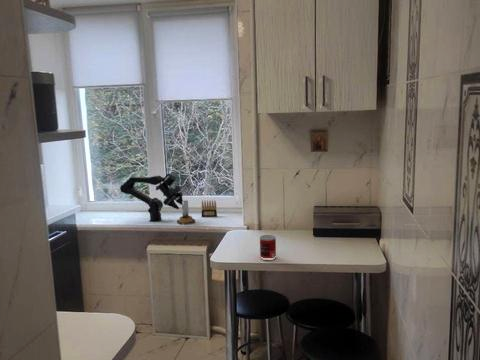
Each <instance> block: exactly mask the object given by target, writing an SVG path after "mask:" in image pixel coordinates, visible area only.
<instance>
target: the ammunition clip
mask: <svg viewBox="0 0 480 360" xmlns="http://www.w3.org/2000/svg"><path fill="white" fill-rule="evenodd" d="M217 211H218V210H217V201H216V200H213V199H211V200H208V199H207V200H202V199H201V218H216V217H218V212H217Z"/></svg>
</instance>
